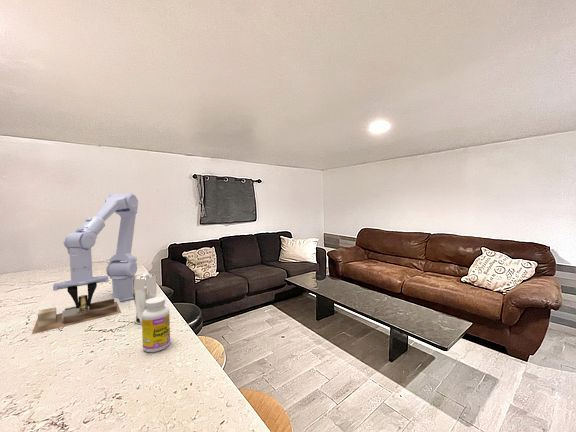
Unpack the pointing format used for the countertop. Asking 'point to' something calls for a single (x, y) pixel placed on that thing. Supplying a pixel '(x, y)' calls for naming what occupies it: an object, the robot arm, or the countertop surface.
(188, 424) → the countertop surface
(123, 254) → the robot arm
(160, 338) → the supplement bottle
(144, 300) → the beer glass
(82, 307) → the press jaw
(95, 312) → the press board
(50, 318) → the block
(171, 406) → the countertop surface
